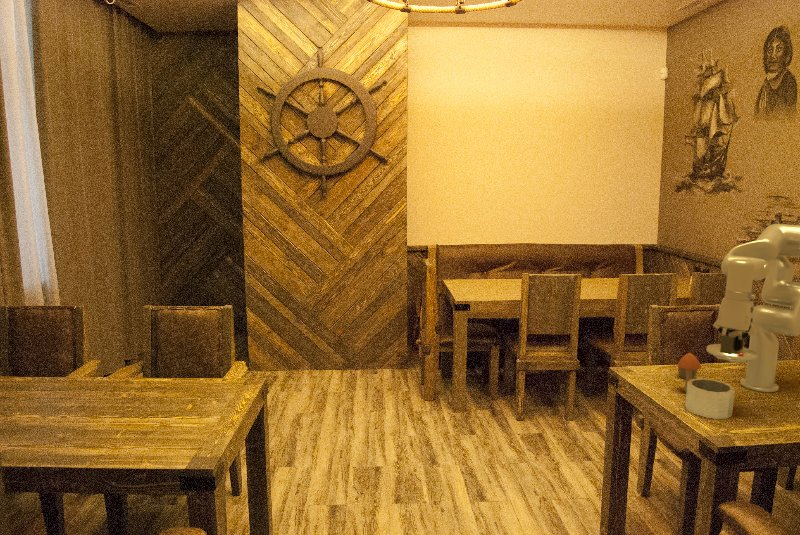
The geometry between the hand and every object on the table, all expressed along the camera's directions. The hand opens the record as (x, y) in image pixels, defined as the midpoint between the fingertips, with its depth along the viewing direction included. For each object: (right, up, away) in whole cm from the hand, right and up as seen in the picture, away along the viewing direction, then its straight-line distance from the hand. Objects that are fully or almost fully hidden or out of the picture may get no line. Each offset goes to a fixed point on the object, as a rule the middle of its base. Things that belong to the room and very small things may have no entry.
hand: (731, 348), depth 205 cm
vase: (+1, -16, +34) cm, 38 cm away
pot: (-7, -22, +2) cm, 23 cm away
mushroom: (-6, -19, +20) cm, 28 cm away
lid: (0, -3, 0) cm, 3 cm away
